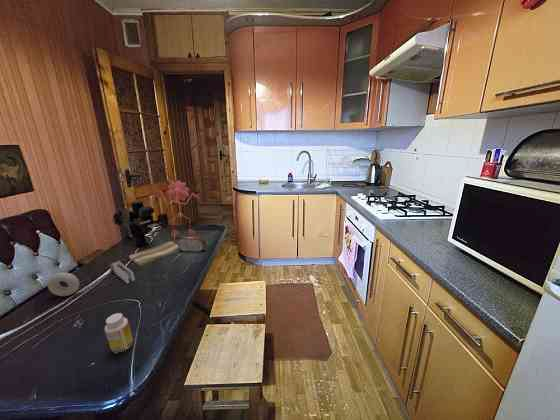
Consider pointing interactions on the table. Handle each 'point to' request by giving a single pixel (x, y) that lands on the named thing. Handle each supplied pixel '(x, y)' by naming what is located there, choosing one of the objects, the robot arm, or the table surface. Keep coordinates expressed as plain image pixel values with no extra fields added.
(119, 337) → the supplement bottle
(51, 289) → the donut
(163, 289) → the table surface
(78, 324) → the blueberries
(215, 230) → the table surface
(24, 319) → the table surface
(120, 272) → the tongs
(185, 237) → the tin
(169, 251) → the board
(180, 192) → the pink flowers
